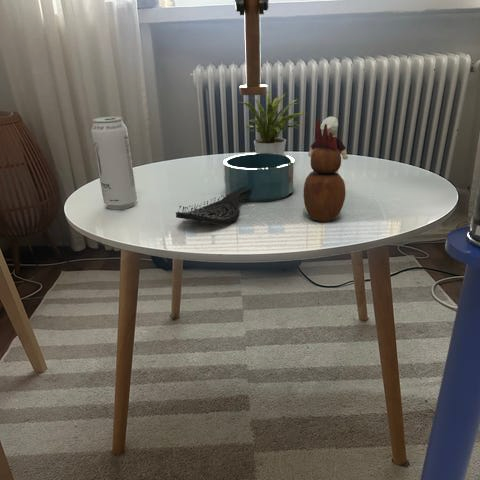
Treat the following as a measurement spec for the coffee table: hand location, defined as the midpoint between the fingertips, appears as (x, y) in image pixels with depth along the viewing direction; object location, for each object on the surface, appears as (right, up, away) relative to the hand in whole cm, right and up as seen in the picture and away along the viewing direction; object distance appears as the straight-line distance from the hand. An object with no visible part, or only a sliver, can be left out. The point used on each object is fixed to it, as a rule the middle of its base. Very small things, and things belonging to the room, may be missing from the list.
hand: (251, 9), depth 75 cm
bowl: (+2, -23, +20) cm, 30 cm away
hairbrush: (-4, -29, +11) cm, 31 cm away
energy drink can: (-24, -26, +16) cm, 39 cm away
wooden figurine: (+12, -31, +6) cm, 34 cm away
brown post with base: (0, -9, +8) cm, 12 cm away
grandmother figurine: (+15, -20, +23) cm, 35 cm away
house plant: (+4, -14, +35) cm, 38 cm away
